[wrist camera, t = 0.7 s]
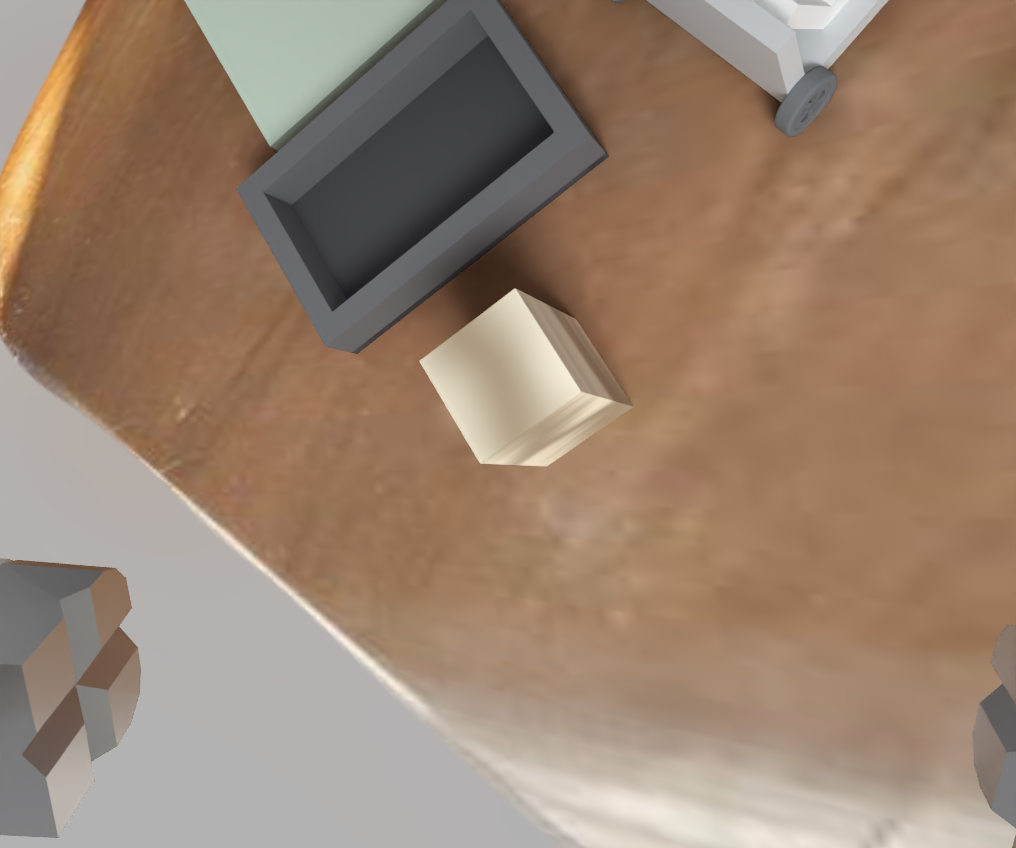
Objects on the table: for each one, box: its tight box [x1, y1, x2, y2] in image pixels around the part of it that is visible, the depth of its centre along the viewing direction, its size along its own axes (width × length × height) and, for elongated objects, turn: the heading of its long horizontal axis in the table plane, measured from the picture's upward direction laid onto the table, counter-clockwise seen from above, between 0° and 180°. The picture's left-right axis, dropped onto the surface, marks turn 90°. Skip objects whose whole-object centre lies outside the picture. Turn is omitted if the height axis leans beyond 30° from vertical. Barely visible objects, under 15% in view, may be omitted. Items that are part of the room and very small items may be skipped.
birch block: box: [420, 288, 633, 466], centre depth 42 cm, size 5×5×8 cm
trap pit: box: [236, 0, 609, 354], centre depth 48 cm, size 16×10×3 cm, turn 123°
